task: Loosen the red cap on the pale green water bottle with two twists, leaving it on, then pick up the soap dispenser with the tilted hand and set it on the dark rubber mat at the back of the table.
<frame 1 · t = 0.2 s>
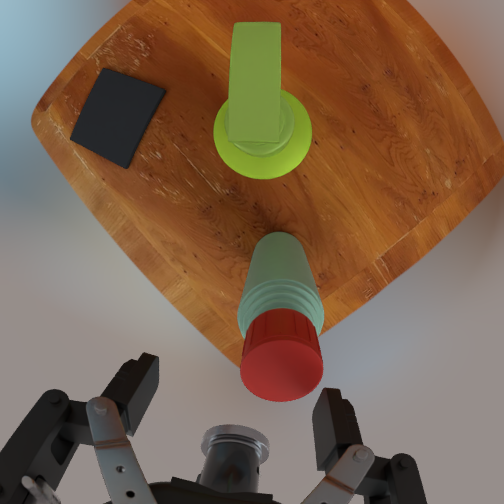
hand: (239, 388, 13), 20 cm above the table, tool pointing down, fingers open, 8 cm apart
mat: (114, 115, 28), on the table
soap dispenser: (268, 143, 29), on the table
cap: (281, 369, 13), point 19 cm above the table, screwed on, not yet turned
bottle: (278, 256, 32), on the table
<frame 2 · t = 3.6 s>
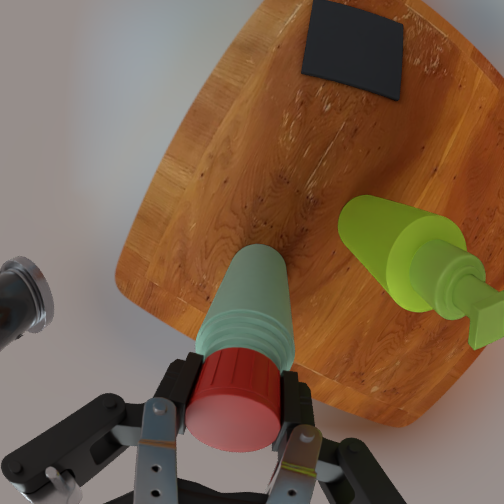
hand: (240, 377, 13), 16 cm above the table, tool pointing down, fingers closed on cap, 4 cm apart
mat: (356, 45, 22), on the table
soap dispenser: (370, 223, 27), on the table
cap: (232, 420, 10), point 19 cm above the table, screwed on, not yet turned, touching gripper
bottle: (258, 271, 29), on the table
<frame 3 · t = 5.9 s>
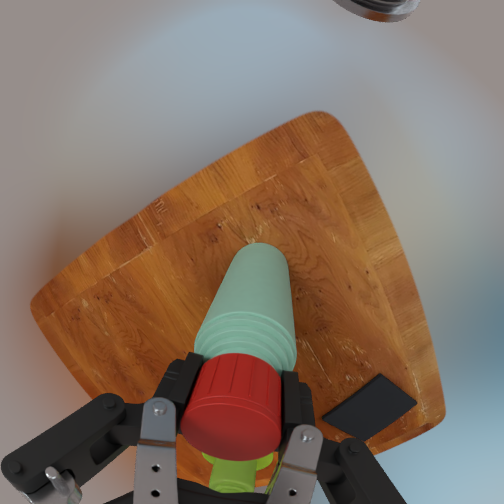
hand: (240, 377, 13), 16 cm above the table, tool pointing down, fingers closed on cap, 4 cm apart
mat: (371, 410, 33), on the table
soap dispenser: (249, 367, 32), on the table
cap: (231, 429, 10), point 19 cm above the table, turned 120° so far, risen 0.1 cm, still on its thread, touching gripper
bottle: (259, 270, 28), on the table, touching gripper
when the fingers open (16 cm above the table, at t = 9.1 s): cap stays where it is, point 19 cm above the table.
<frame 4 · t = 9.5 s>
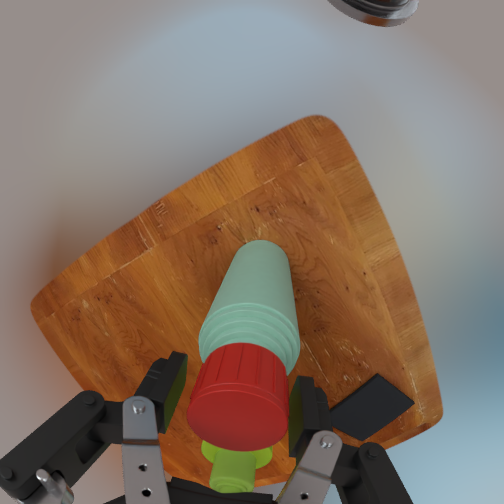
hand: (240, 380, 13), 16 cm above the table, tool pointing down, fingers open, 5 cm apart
mat: (369, 410, 33), on the table
soap dispenser: (248, 367, 32), on the table
cap: (237, 418, 10), point 19 cm above the table, turned 120° so far, risen 0.1 cm, still on its thread
bottle: (260, 267, 29), on the table
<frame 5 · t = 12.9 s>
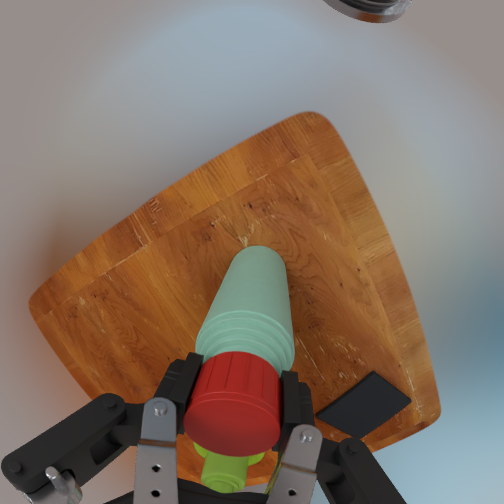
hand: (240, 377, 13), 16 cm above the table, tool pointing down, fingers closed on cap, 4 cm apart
mat: (365, 407, 33), on the table
soap dispenser: (243, 364, 32), on the table
cap: (232, 425, 10), point 19 cm above the table, turned 233° so far, risen 0.2 cm, still on its thread, touching gripper
bottle: (257, 272, 29), on the table
when the fingers open (16 cm above the table, at t = 13.2 s): cap stays where it is, point 19 cm above the table.
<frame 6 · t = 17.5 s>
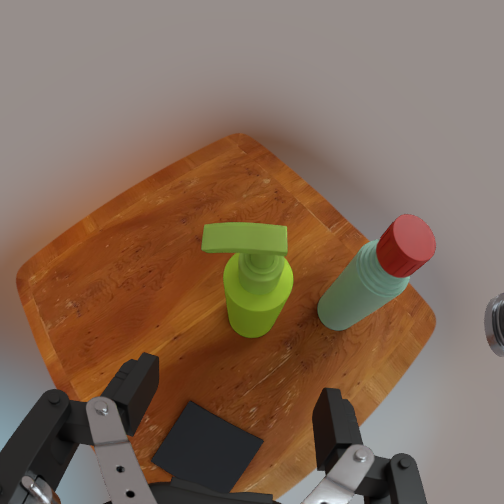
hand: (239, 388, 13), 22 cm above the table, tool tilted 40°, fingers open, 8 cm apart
mat: (206, 453, 28), on the table
soap dispenser: (247, 315, 36), on the table
cap: (413, 239, 19), point 19 cm above the table, turned 234° so far, risen 0.2 cm, still on its thread
bottle: (337, 310, 37), on the table
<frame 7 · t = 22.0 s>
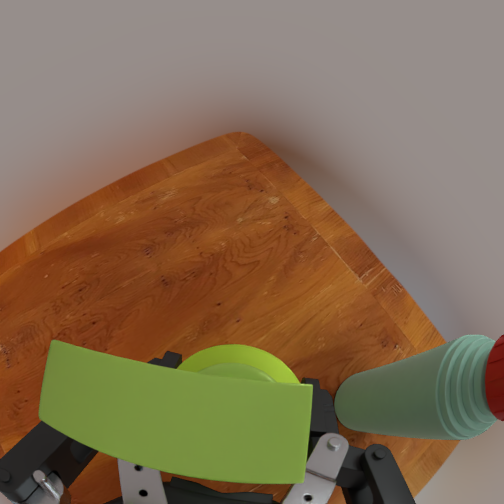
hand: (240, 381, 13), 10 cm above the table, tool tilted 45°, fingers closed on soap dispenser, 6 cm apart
soap dispenser: (229, 407, 21), on the table, touching gripper
bottle: (362, 401, 22), on the table
when the fingers open (11 cm above the table, at t = 30.2 s): soap dispenser stays where it is, resting on mat.
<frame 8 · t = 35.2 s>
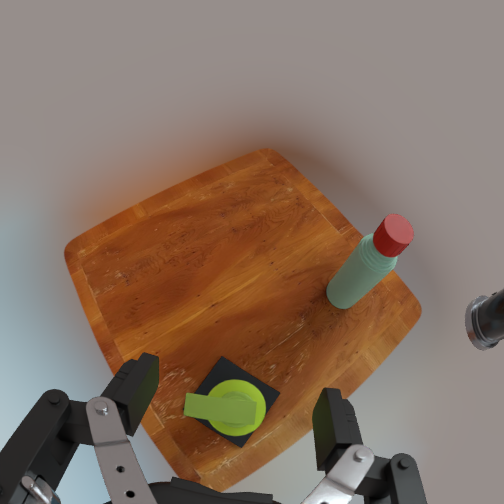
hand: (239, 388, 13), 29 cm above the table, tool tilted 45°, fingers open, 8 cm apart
mat: (231, 402, 37), on the table
soap dispenser: (230, 404, 36), resting on mat
cap: (397, 230, 29), point 19 cm above the table, turned 234° so far, risen 0.2 cm, still on its thread
bottle: (341, 293, 46), on the table
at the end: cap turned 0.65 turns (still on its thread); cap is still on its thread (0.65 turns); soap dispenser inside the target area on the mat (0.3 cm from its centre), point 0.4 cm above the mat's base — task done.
